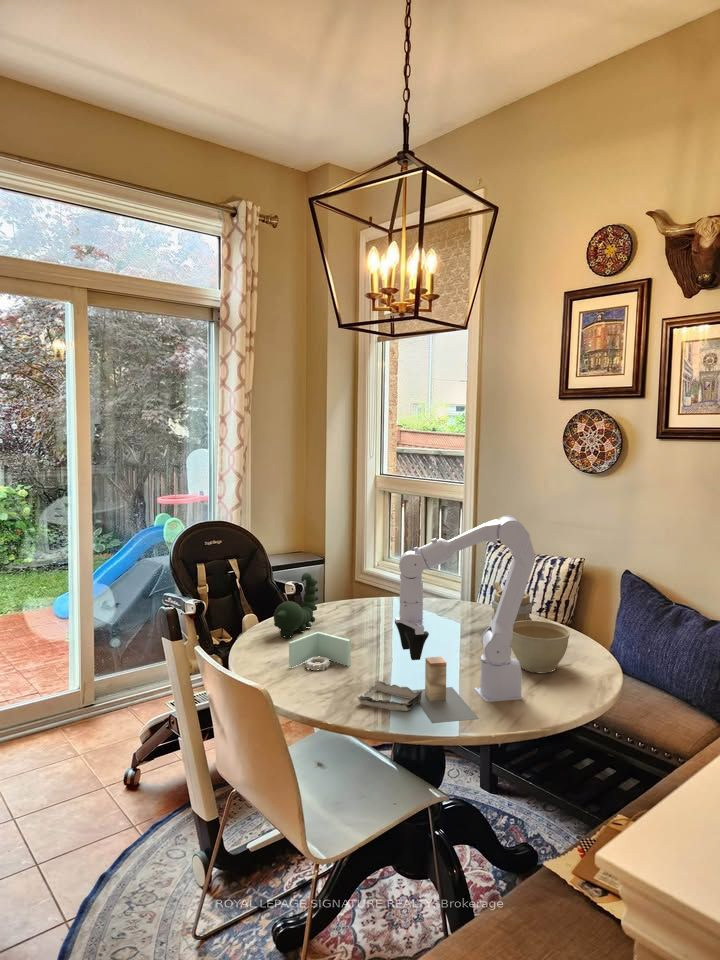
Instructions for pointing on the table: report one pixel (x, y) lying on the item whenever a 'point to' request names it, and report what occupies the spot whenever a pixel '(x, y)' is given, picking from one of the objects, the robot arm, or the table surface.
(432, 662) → the birch block
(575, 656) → the table surface
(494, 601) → the tankard
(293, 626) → the toy figurine
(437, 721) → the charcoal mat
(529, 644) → the planter bowl
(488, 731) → the table surface
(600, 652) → the table surface
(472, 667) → the table surface
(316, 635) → the l-shaped corner panel
